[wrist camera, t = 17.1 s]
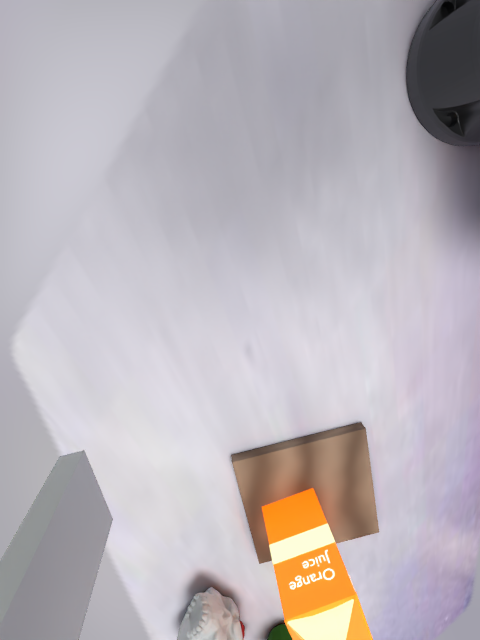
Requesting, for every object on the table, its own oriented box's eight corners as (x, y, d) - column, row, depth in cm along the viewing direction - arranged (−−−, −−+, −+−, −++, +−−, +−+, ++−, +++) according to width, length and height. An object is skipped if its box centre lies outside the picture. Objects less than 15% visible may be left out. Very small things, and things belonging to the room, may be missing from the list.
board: (360, 422, 50) (365, 428, 48) (374, 523, 55) (379, 532, 54) (231, 455, 49) (232, 462, 48) (257, 554, 54) (259, 563, 53)
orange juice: (313, 487, 50) (383, 657, 31) (330, 533, 53) (404, 716, 34) (260, 507, 50) (296, 689, 31) (279, 552, 53) (324, 745, 34)
